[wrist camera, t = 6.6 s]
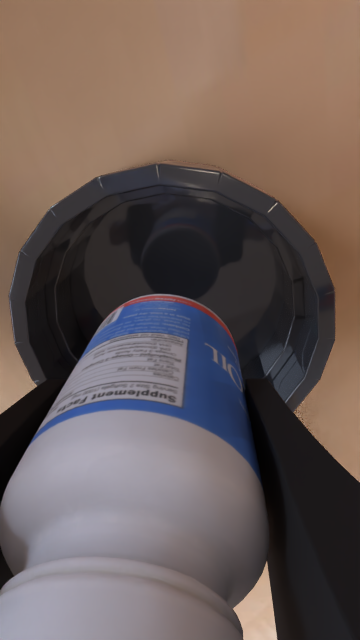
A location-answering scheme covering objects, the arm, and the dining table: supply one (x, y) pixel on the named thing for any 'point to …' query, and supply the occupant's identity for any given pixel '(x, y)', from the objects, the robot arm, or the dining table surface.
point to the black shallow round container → (176, 271)
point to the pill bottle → (139, 489)
